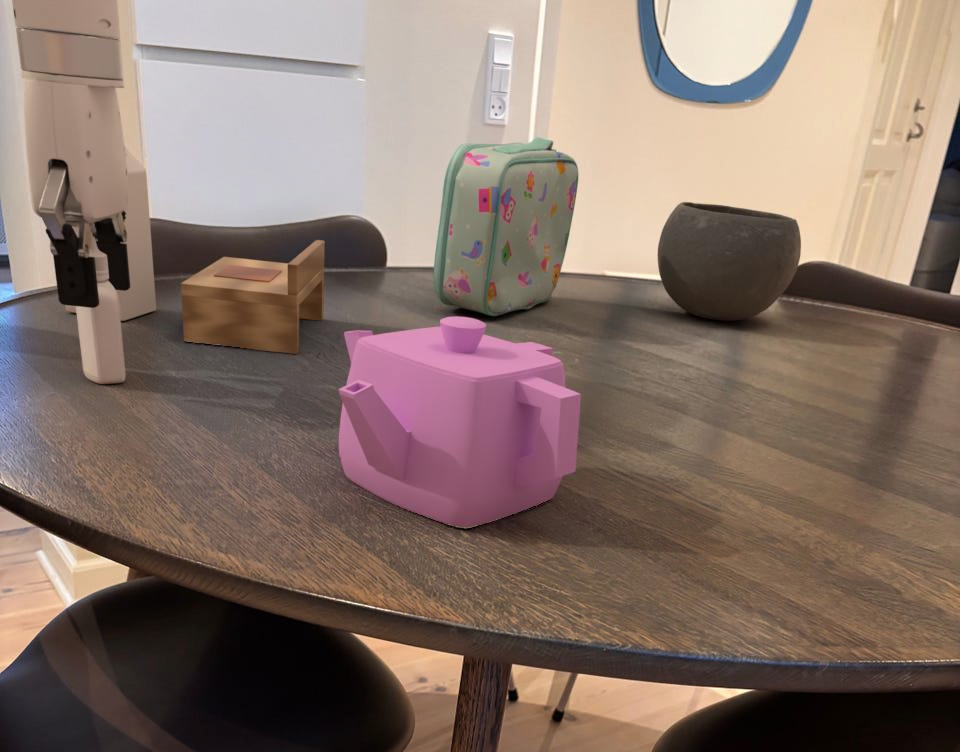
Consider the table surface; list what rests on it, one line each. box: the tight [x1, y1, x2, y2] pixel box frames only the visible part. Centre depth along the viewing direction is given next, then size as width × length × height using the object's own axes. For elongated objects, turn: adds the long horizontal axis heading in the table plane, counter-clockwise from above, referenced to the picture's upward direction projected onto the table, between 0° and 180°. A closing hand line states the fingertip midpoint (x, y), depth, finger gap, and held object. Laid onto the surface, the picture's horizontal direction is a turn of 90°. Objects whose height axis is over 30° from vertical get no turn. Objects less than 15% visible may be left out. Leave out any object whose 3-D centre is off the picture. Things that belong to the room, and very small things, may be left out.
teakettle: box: [338, 316, 582, 527], centre depth 68 cm, size 17×17×12 cm
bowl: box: [657, 201, 802, 322], centre depth 138 cm, size 20×20×15 cm
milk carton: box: [64, 145, 157, 322], centre depth 102 cm, size 7×7×19 cm
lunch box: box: [433, 136, 579, 317], centre depth 128 cm, size 27×10×21 cm, turn 154°
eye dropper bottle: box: [75, 236, 127, 385], centre depth 83 cm, size 4×6×12 cm
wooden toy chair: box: [180, 239, 325, 355], centre depth 105 cm, size 12×18×9 cm, turn 179°
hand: (96, 295), depth 82 cm, fingers open, 7 cm apart
